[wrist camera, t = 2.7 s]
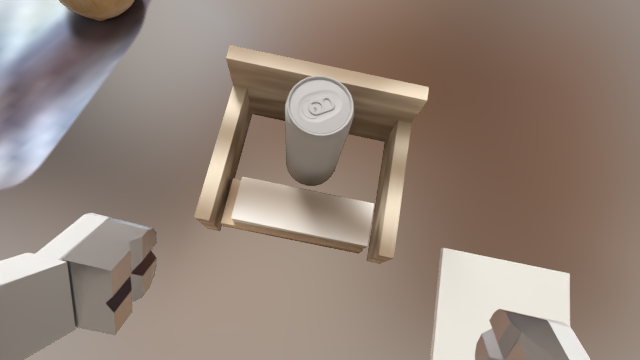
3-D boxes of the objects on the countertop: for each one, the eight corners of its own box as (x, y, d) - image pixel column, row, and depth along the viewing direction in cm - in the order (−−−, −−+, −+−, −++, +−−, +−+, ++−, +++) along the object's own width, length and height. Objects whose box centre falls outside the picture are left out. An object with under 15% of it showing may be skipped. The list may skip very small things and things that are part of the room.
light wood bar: (358, 255, 35) (368, 250, 31) (226, 228, 35) (217, 219, 31) (365, 210, 36) (376, 199, 32) (238, 184, 36) (231, 169, 32)
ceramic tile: (565, 417, 32) (570, 419, 32) (427, 389, 32) (429, 391, 32) (565, 274, 36) (569, 273, 35) (440, 248, 36) (443, 247, 35)
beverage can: (278, 150, 37) (274, 86, 26) (324, 134, 38) (338, 64, 27) (297, 194, 36) (300, 148, 25) (343, 177, 37) (367, 123, 26)
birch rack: (379, 263, 35) (408, 252, 26) (207, 228, 35) (180, 205, 26) (399, 126, 39) (429, 78, 31) (245, 94, 39) (232, 36, 30)
